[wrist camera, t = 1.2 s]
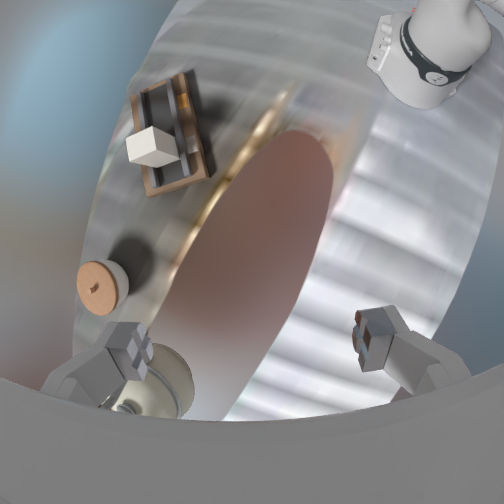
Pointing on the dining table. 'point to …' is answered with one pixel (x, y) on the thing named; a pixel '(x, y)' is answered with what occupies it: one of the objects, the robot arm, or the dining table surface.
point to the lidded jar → (102, 286)
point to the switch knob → (152, 148)
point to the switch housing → (175, 124)
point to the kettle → (157, 388)
